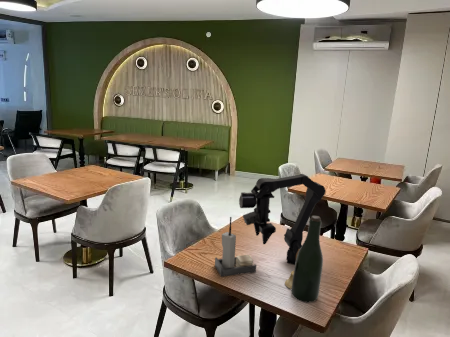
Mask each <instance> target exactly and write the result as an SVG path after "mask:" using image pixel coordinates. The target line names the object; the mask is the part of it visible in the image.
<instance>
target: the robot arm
mask: <svg viewBox="0 0 450 337" xmlns="http://www.w3.org/2000/svg"><path fill="white" fill-rule="evenodd" d="M300 185H303V186H304V187H305V188H306V192H305V200H304V203H303V205H302V207H301V209H300V211H299V213H298V216H297V217H296V220H295V222H294V224H293V226H292V227H291V228H289V227H288V228H286V231H285V233H284V234H283V239H284V242H285V243H286V245H287V246H288V249H287V251H286V263H287V264H291V265H295V263H296V254H297V252H298V249H300V248H301V246H302V245H303V236H304V235H303V234H304V233H303V232H304V230H305V228H306V226H307V224H308V223H309V220H310V217H311V216H312V213H313V210H314V209H315V206H316V204H317V203H319V202H320V201H322V199H323V197H324V196H325V194H326V192H327V191H326V188H325V186H324V185H322V184H321V183H318V182H316V181H313V180H312V179H311V178H310V177H309V176H308V175H307V174H304V173H301V174H295V175H291V176H286V177H285V176H284V177H279V178H269V177H261V178H259V179H257V181H256V183H255V185H254V187H253V188H252V189H251V190H250V192H240V196H239V198H238V199H239V200H238V204H239V208H240V209H253V211H250V212H248V213H246V214H244V215H242V218H243V220H244V224H245V225H246V226H250V225H253V227H254V232H255V235H256V236H257V237H258V236H259V235H260V233H261V238H262V245H266V244H267V243H268V241H269V239H270V238H271V236H272V235H273V234H274V233H276V230H277V228H276V226H274V224H272V223H271V222H270V221H271V219H270V218H269V216H270V214H271V210H270V199H275V195H273V193H274V192H275V191H277V190H280V189H283V188H288V187H289V188H291V187H296V186H300Z"/></svg>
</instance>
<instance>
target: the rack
mask: <svg viewBox="0 0 450 337" xmlns="http://www.w3.org/2000/svg"><path fill="white" fill-rule="evenodd" d="M236 257H237V256H235V263H234V267H233V268H225V269H223V267H222V258H218V257H217V256H216V257H214V267H215V269H216V271H217V272H218V274H219V276H220V277H228V276H236V275H243V274H250V273H251V274H252V273H256V272H257V265H256V264H253V265H249V266H241V267H236Z"/></svg>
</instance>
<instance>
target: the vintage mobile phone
mask: <svg viewBox="0 0 450 337" xmlns="http://www.w3.org/2000/svg"><path fill="white" fill-rule="evenodd" d="M232 218H233V217H232V216H230V217H229V226H228V227H229V228H228V231H226V232H224V233H221V246H222V257H221V259H222V267H223V269H225V268H233V267H235V265H234V263H235V257H236V246H237V245H236V244H237V243H236V241H237V239H236V238H237V235H236V234H233V233H232Z"/></svg>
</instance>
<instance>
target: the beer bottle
mask: <svg viewBox="0 0 450 337" xmlns="http://www.w3.org/2000/svg"><path fill="white" fill-rule="evenodd" d="M310 217H311V218H309V220H308V229H307V233H306V237H305V240H304V241H303V242H302V244H301V245H302V246H301V248H300V250H299V252H298V254H297V258H296V263H295V264H294V269H293V271H294V275H293V281H292V287H291V289H290V291H291V295H292V297H293V298H295V299H296V300H298V301H300V302H304V303H314V302H316V301H317V300H318V298H319V295H320V289H321V288H320V287H321V282H322V275H323V274H322V273H323V266H324V265H323V264H324V255H323V251H322V248H321V243H320V241H321V240H320V237H321V236H320V235H321V226H322V220H321V219H322V218H321V217H320V216H319V215H311V216H310Z"/></svg>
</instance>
